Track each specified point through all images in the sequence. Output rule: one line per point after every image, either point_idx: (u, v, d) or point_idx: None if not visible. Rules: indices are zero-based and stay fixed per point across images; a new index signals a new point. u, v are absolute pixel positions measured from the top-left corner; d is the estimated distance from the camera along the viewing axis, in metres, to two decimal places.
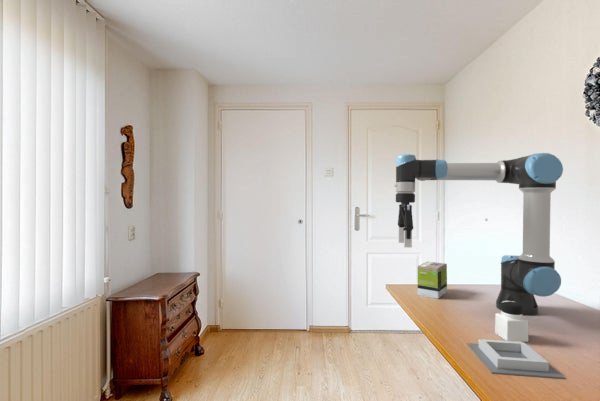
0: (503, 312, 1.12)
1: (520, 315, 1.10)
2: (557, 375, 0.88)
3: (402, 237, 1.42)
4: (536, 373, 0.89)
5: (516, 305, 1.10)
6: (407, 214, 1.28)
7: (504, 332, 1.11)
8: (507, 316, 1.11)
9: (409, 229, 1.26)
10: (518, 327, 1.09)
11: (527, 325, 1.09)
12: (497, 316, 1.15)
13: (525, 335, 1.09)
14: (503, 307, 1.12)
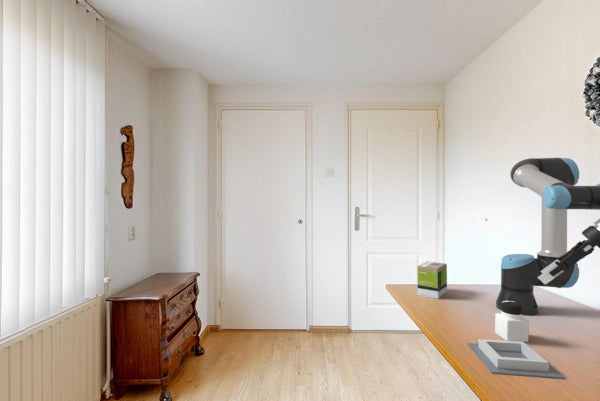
0: (503, 312, 1.12)
1: (520, 315, 1.10)
2: (557, 375, 0.88)
3: None
4: (536, 373, 0.89)
5: (516, 305, 1.10)
6: None
7: (504, 332, 1.11)
8: (507, 316, 1.11)
9: None
10: (518, 327, 1.09)
11: (527, 325, 1.09)
12: (497, 316, 1.15)
13: (525, 335, 1.09)
14: (503, 307, 1.12)
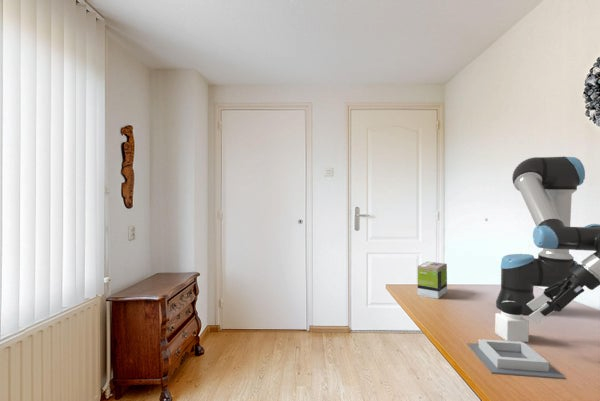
0: (503, 312, 1.12)
1: (520, 315, 1.10)
2: (557, 375, 0.88)
3: None
4: (536, 373, 0.89)
5: (516, 305, 1.10)
6: None
7: (504, 332, 1.11)
8: (507, 316, 1.11)
9: None
10: (518, 327, 1.09)
11: (527, 325, 1.09)
12: (497, 316, 1.15)
13: (525, 335, 1.09)
14: (503, 307, 1.12)
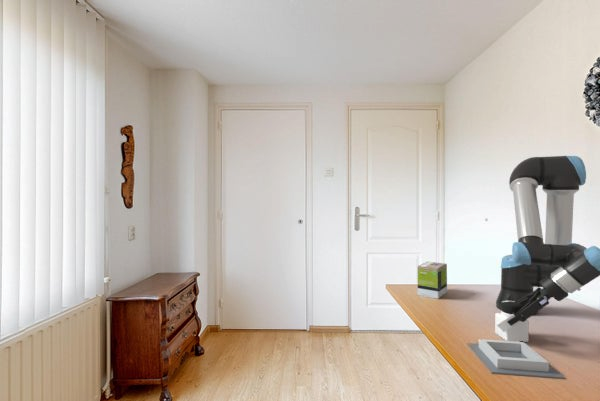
0: (503, 312, 1.12)
1: None
2: (557, 375, 0.88)
3: None
4: (536, 373, 0.89)
5: (516, 305, 1.10)
6: None
7: None
8: (507, 316, 1.11)
9: None
10: (518, 327, 1.09)
11: (527, 325, 1.09)
12: (497, 316, 1.15)
13: (525, 335, 1.09)
14: (503, 307, 1.12)
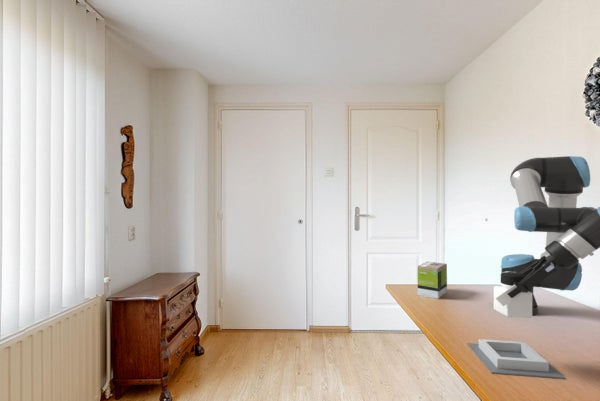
0: (503, 284, 0.97)
1: None
2: (557, 375, 0.88)
3: None
4: (536, 373, 0.89)
5: (518, 275, 0.95)
6: None
7: (504, 306, 0.95)
8: (507, 288, 0.96)
9: None
10: (520, 300, 0.94)
11: (531, 298, 0.94)
12: (496, 289, 0.99)
13: (528, 309, 0.94)
14: (503, 278, 0.97)
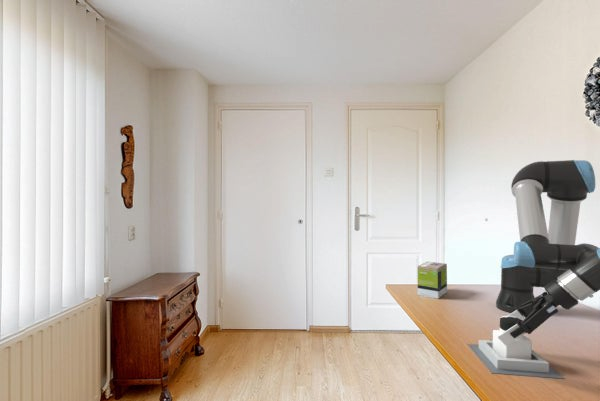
0: (502, 329, 0.96)
1: None
2: (557, 376, 0.88)
3: None
4: (536, 374, 0.89)
5: None
6: None
7: (502, 352, 0.95)
8: None
9: None
10: (519, 348, 0.93)
11: (530, 345, 0.93)
12: (495, 334, 0.99)
13: (527, 357, 0.93)
14: (502, 323, 0.97)
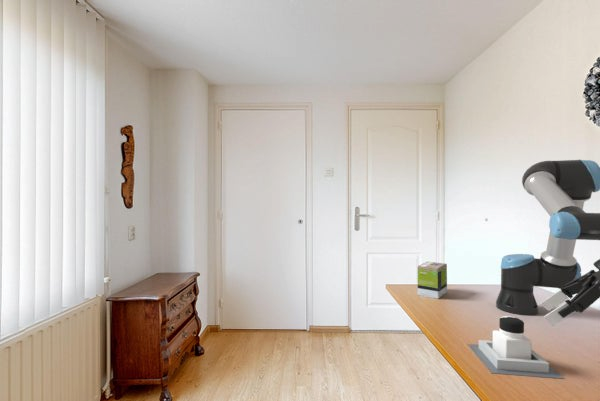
0: (501, 330, 0.97)
1: (521, 334, 0.94)
2: (557, 376, 0.88)
3: None
4: (536, 374, 0.89)
5: (517, 322, 0.94)
6: None
7: (502, 353, 0.95)
8: (506, 334, 0.95)
9: None
10: (519, 348, 0.93)
11: (529, 346, 0.93)
12: (495, 334, 0.99)
13: (527, 357, 0.93)
14: (501, 324, 0.97)
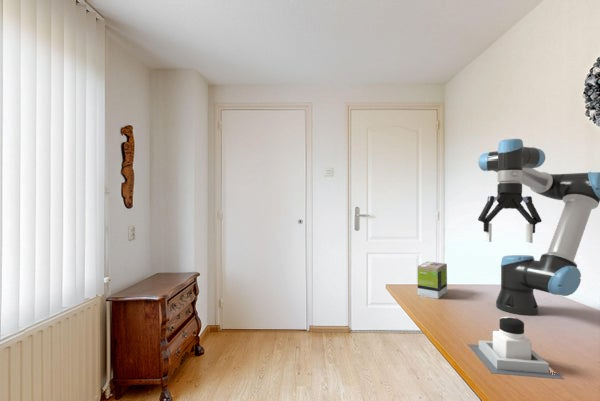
0: (501, 330, 0.96)
1: (521, 334, 0.94)
2: (557, 376, 0.88)
3: None
4: (536, 374, 0.89)
5: (517, 323, 0.94)
6: None
7: (502, 353, 0.95)
8: (506, 335, 0.95)
9: None
10: (518, 349, 0.93)
11: (530, 346, 0.93)
12: (495, 334, 0.99)
13: (527, 358, 0.93)
14: (501, 324, 0.96)
